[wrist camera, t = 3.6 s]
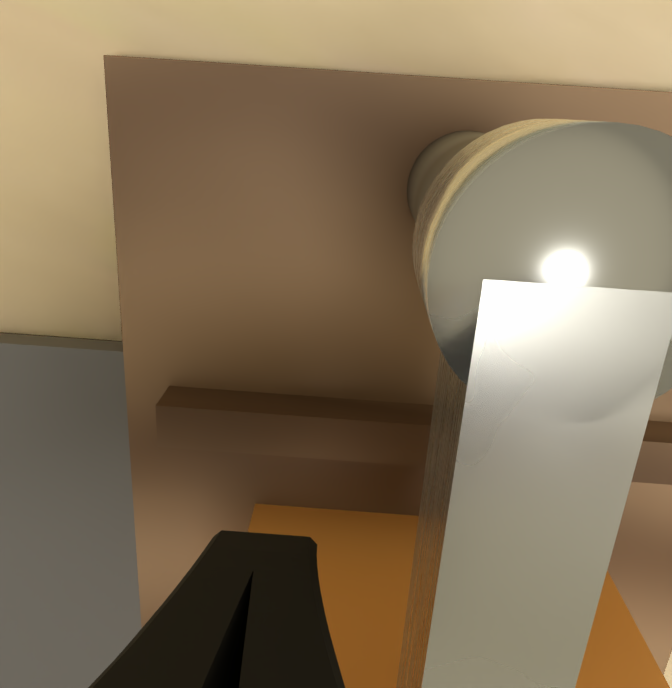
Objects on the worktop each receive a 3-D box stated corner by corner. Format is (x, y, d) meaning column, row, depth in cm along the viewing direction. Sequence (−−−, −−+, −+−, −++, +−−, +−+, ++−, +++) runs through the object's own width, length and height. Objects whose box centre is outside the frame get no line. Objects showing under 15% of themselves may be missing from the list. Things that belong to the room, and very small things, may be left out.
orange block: (550, 667, 17) (624, 886, 12) (252, 643, 17) (210, 851, 12) (584, 528, 15) (686, 718, 10) (254, 503, 15) (207, 681, 10)
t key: (353, 105, 7) (350, 104, 5) (757, 132, 7) (888, 139, 5) (307, 786, 11) (297, 912, 9) (561, 807, 11) (598, 937, 9)
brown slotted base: (618, 763, 19) (716, 1013, 13) (155, 726, 19) (78, 959, 14) (833, 104, 12) (1187, 102, 7) (115, 57, 12) (-64, 22, 7)
